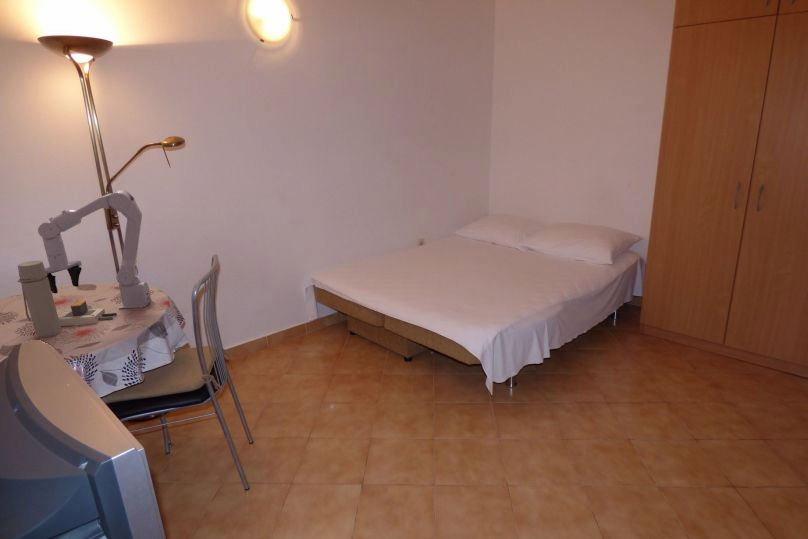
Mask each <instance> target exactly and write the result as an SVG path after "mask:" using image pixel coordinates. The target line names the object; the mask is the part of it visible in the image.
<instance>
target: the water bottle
mask: <svg viewBox="0 0 808 539" xmlns="http://www.w3.org/2000/svg"><path fill="white" fill-rule="evenodd" d="M45 268H46V267H45V265H44V262H43V261H42V260H31V261H24V262H22V263H19V264H17V271H18V277H19V279H18V280H17V282H18V283H20V284H21V291H22V296H23V303H24V309H25V315H26V318H27V319H28V322H31V323H32V326H33V330H34V333H35V335H36V337H38V338H44V339H45V338H49V337H53V336H56V335H58V334H59V333H60V332H61V331H62V326H60V322H59V319H58V317H59V314H58V312H57V308H56V305H55V300H54V296H53V293H52V291H51V288H50V284H49V280H48V277H46V276H47V272H46V270H45Z"/></svg>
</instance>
